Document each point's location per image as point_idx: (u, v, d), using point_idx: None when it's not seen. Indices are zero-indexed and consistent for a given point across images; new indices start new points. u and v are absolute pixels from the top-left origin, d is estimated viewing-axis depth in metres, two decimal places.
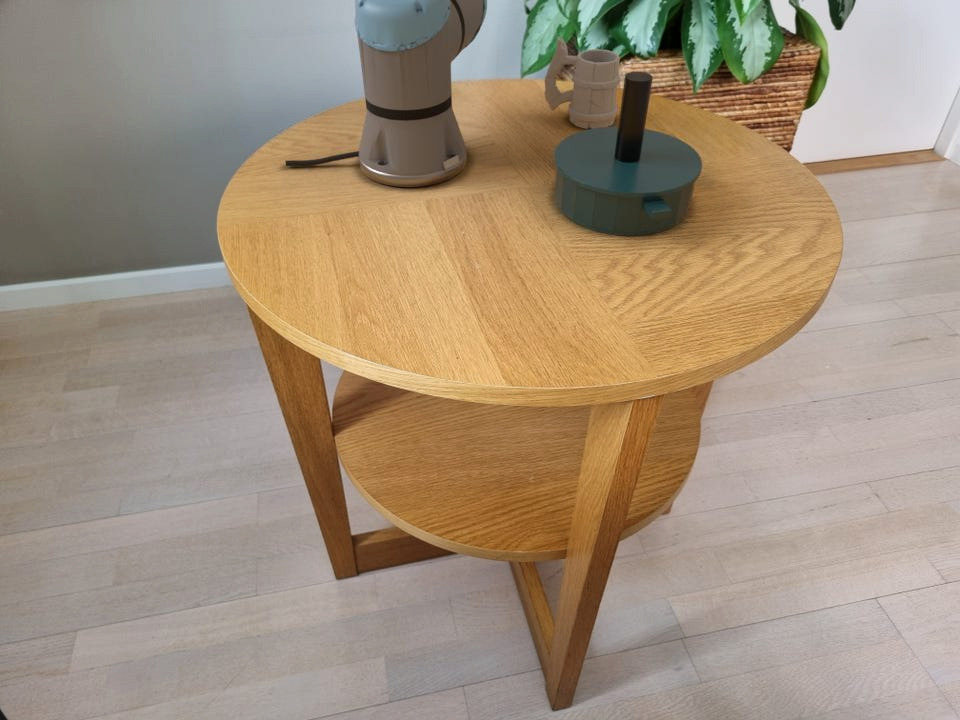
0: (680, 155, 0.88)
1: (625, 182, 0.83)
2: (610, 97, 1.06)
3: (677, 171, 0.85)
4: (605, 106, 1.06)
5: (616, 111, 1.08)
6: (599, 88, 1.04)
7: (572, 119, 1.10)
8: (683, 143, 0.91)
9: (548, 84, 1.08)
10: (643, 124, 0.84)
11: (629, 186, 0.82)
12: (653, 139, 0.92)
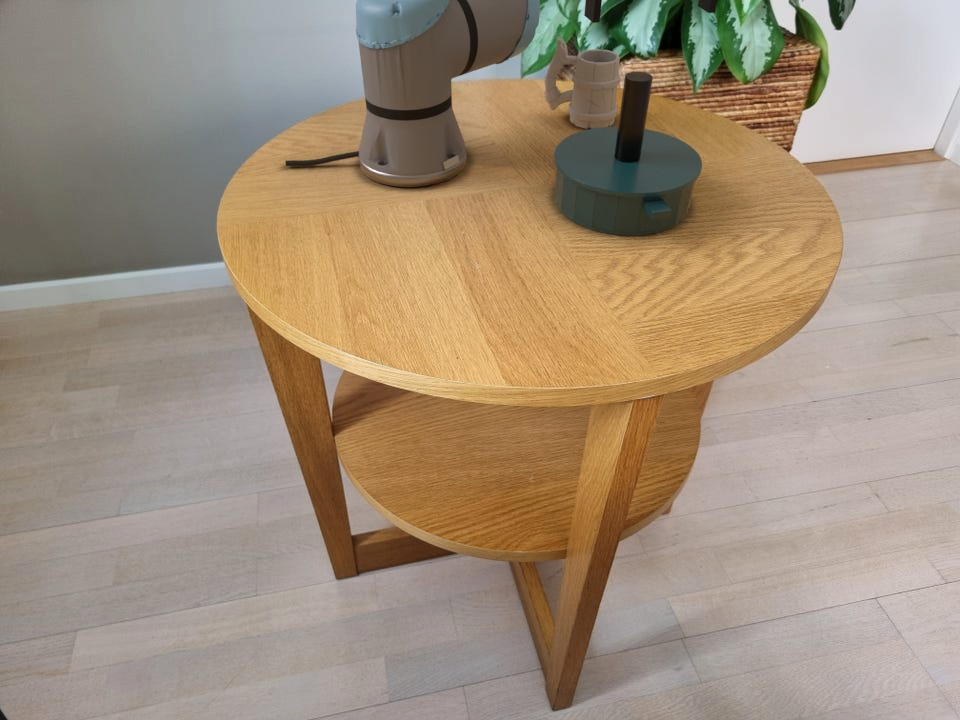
0: (680, 155, 0.88)
1: (625, 182, 0.83)
2: (610, 97, 1.06)
3: (677, 171, 0.85)
4: (605, 106, 1.06)
5: (616, 111, 1.08)
6: (599, 88, 1.04)
7: (572, 119, 1.10)
8: (683, 143, 0.91)
9: (548, 84, 1.08)
10: (643, 124, 0.84)
11: (629, 186, 0.82)
12: (653, 139, 0.92)
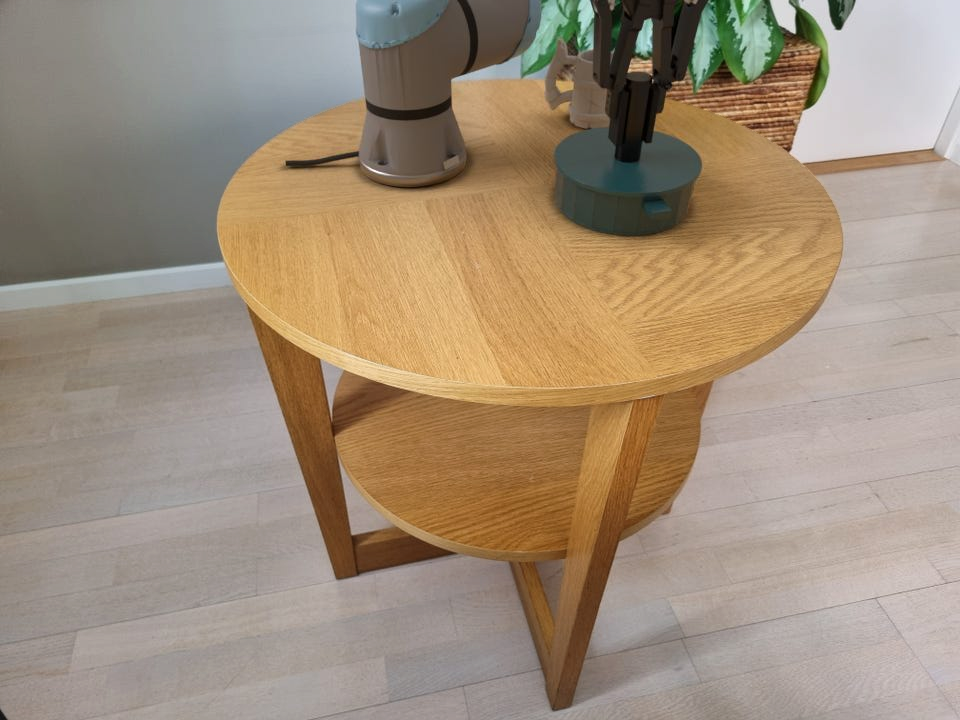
0: (680, 155, 0.88)
1: (625, 182, 0.83)
2: None
3: (677, 171, 0.85)
4: None
5: None
6: (599, 88, 1.04)
7: (572, 119, 1.10)
8: (683, 143, 0.91)
9: (548, 84, 1.08)
10: (643, 124, 0.84)
11: (629, 186, 0.82)
12: (653, 139, 0.92)
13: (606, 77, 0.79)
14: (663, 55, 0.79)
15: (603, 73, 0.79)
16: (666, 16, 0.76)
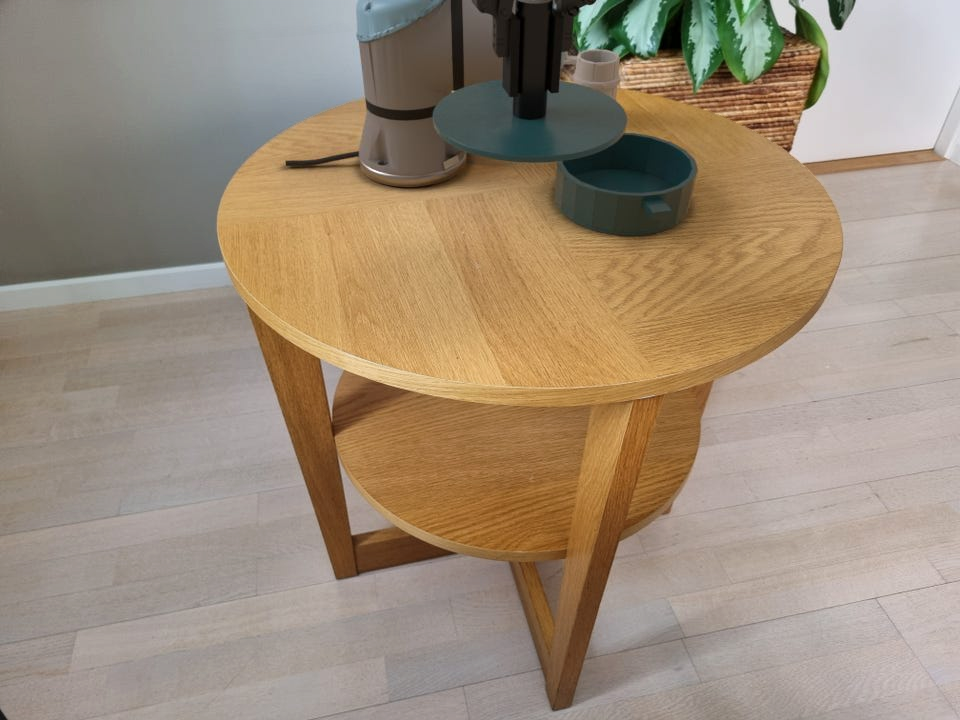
0: (600, 111, 0.67)
1: (519, 143, 0.61)
2: None
3: (592, 130, 0.63)
4: None
5: None
6: (599, 88, 1.04)
7: None
8: (606, 97, 0.69)
9: None
10: (545, 66, 0.62)
11: (524, 148, 0.61)
12: (568, 92, 0.70)
13: None
14: None
15: None
16: None
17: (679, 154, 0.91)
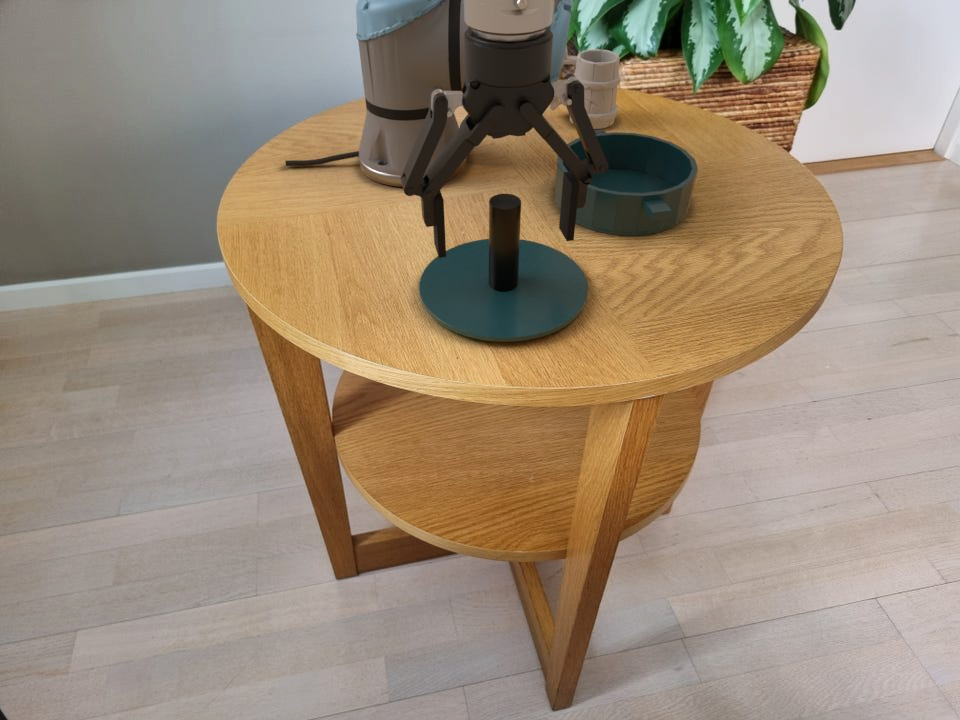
0: (565, 281, 0.76)
1: (492, 321, 0.71)
2: (610, 97, 1.06)
3: (556, 305, 0.73)
4: (605, 106, 1.06)
5: (616, 111, 1.08)
6: (599, 88, 1.04)
7: None
8: (572, 263, 0.79)
9: None
10: (515, 252, 0.72)
11: (496, 327, 0.70)
12: (539, 257, 0.80)
13: (414, 185, 0.65)
14: (563, 156, 0.67)
15: (412, 179, 0.65)
16: (539, 128, 0.64)
17: (679, 154, 0.91)
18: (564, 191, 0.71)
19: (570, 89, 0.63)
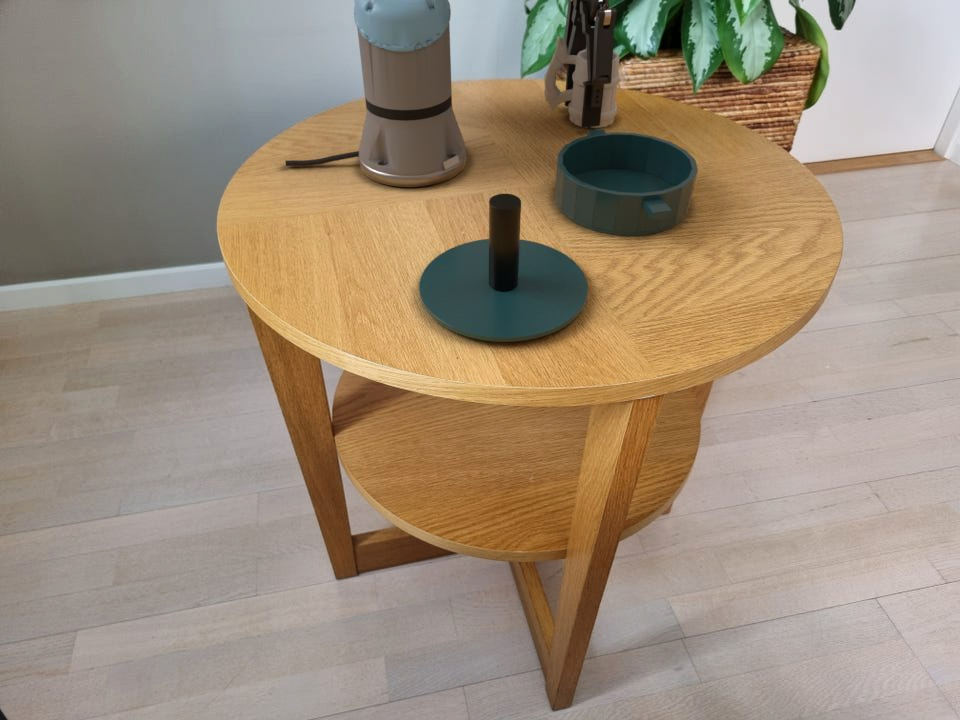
0: (565, 281, 0.76)
1: (492, 321, 0.71)
2: (610, 96, 1.06)
3: (556, 305, 0.73)
4: (605, 105, 1.07)
5: (616, 110, 1.09)
6: None
7: (572, 118, 1.10)
8: (572, 263, 0.79)
9: (548, 84, 1.08)
10: (515, 252, 0.72)
11: (496, 327, 0.70)
12: (539, 257, 0.80)
13: None
14: None
15: None
16: None
17: (679, 154, 0.91)
18: None
19: None
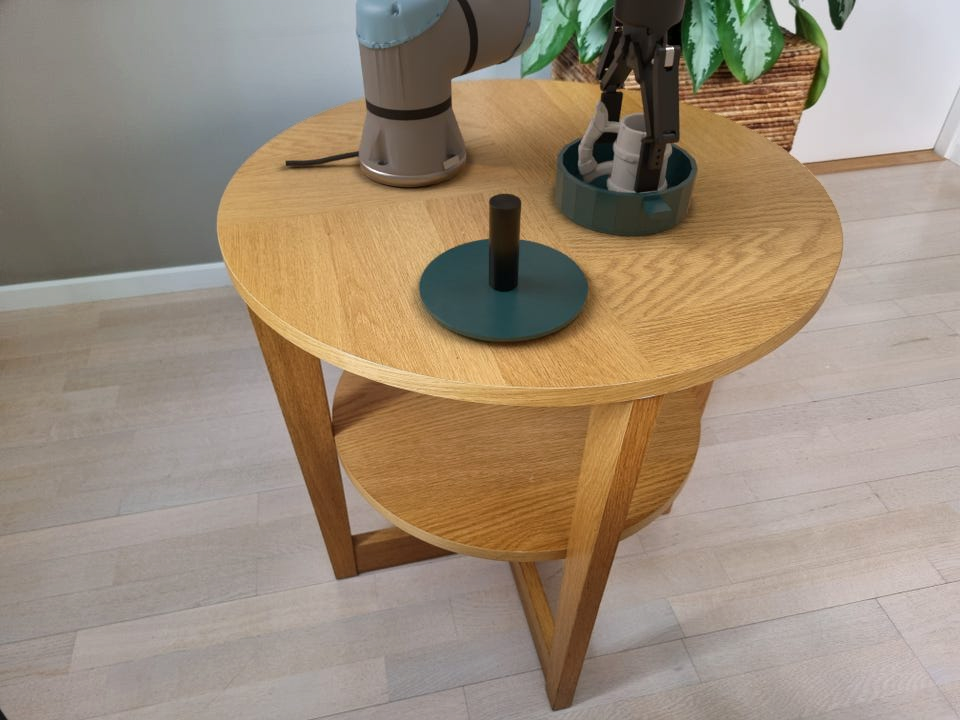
0: (565, 281, 0.76)
1: (492, 321, 0.71)
2: None
3: (556, 305, 0.73)
4: None
5: (666, 186, 0.89)
6: None
7: None
8: (572, 263, 0.79)
9: (583, 155, 0.89)
10: (515, 252, 0.72)
11: (496, 327, 0.70)
12: (539, 257, 0.80)
13: None
14: None
15: None
16: None
17: (679, 154, 0.91)
18: (607, 108, 0.90)
19: None
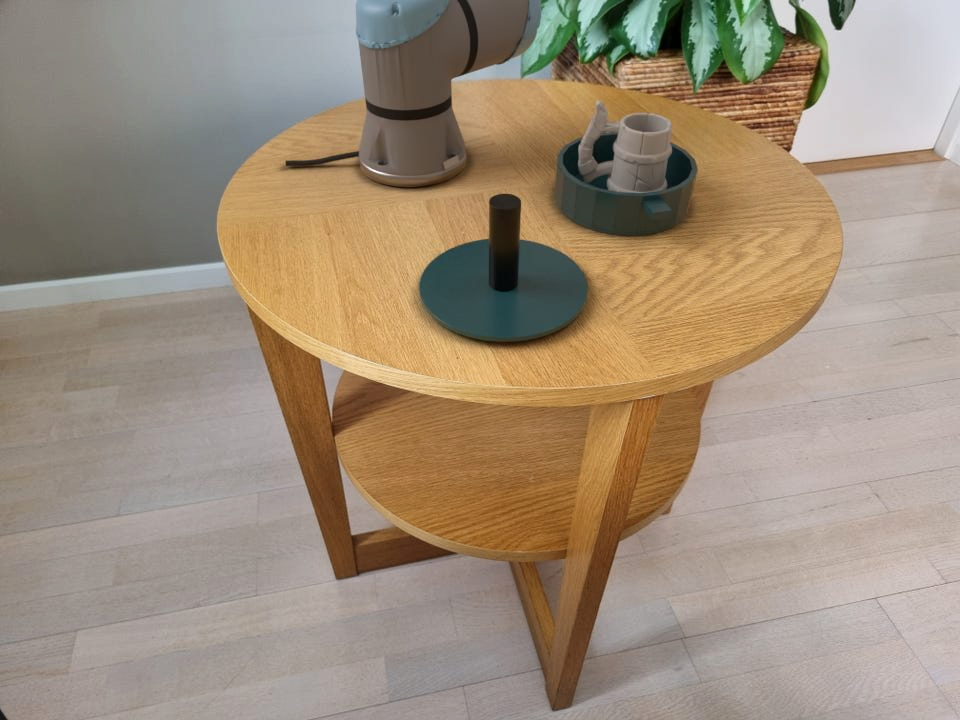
0: (565, 281, 0.76)
1: (492, 321, 0.71)
2: (660, 172, 0.87)
3: (556, 305, 0.73)
4: (654, 183, 0.87)
5: (666, 186, 0.89)
6: (648, 162, 0.85)
7: None
8: (572, 263, 0.79)
9: (583, 155, 0.89)
10: (515, 252, 0.72)
11: (496, 327, 0.70)
12: (539, 257, 0.80)
13: None
14: None
15: None
16: None
17: (679, 154, 0.91)
18: None
19: None
